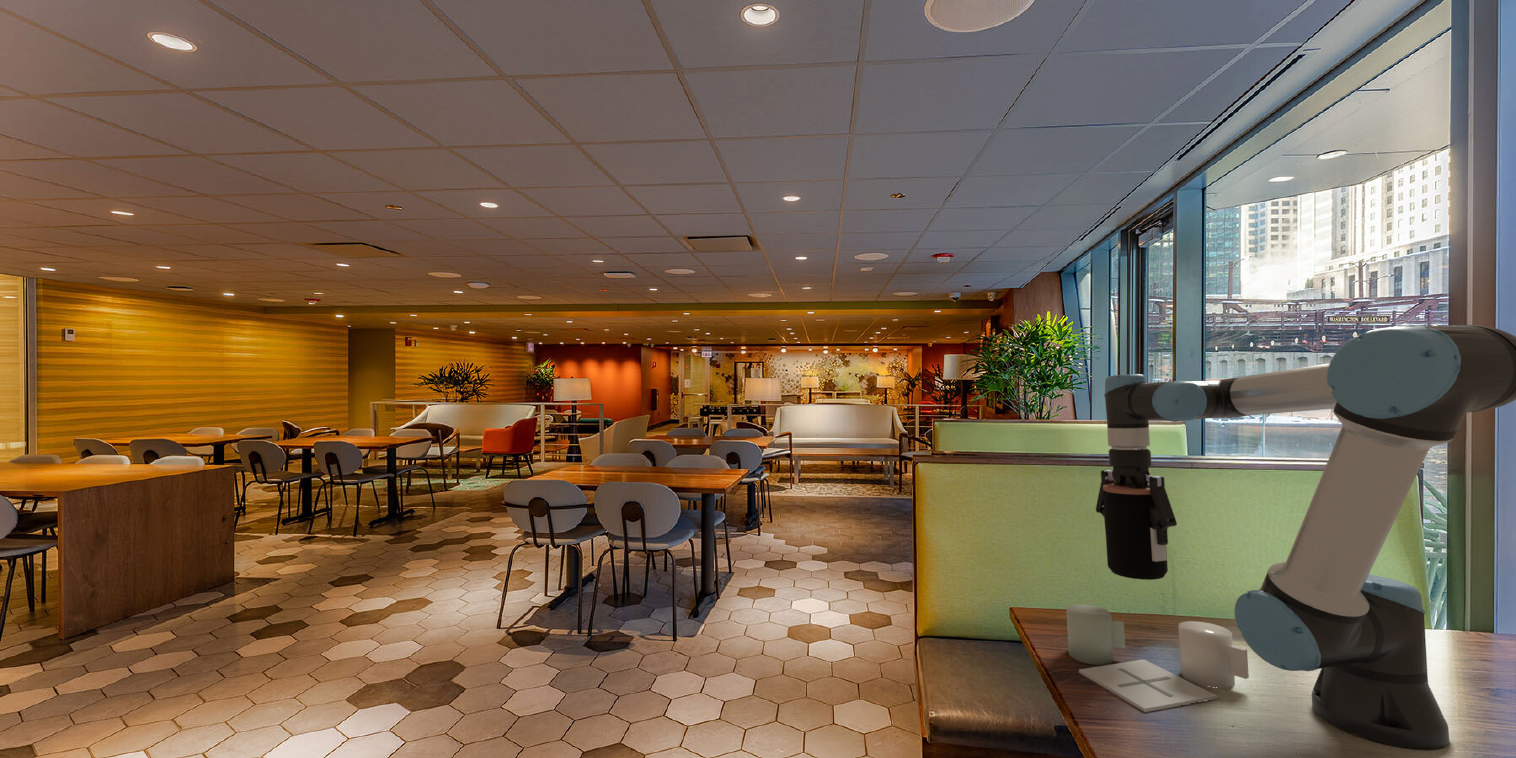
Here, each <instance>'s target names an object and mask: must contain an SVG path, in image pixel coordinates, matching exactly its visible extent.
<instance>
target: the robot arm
mask: <svg viewBox="0 0 1516 758" xmlns="http://www.w3.org/2000/svg"><path fill="white" fill-rule="evenodd" d="M1103 397H1104V400H1105V415H1106V425H1107V428H1106V429H1107V446H1109V447H1111V448H1109V449H1108V462H1109V463H1108V464H1109V466H1111V467H1112V469H1107V470H1105V469H1104V470H1101V471H1100V478H1101V482H1100V487H1099V491H1098V495H1097V501H1096V505H1095V512H1096V513H1100V514H1101V515H1102V516H1103V518H1104V522H1105V515H1104V499H1103V498H1104V496H1105V494H1106V492H1105V491H1104V490H1103V485H1105V484H1113V483H1114V485H1115V486H1125V487H1131V488H1135V489H1139V488H1150V491H1151V494H1152V497H1153V500H1154V503H1155V506H1156V508H1150V507H1149V514H1150V520H1151V522H1152V524H1153V526H1152V527H1151V528H1150V533H1151V548H1152V561H1155V562H1156V561H1165V560H1167V561H1168V555H1166V551H1167V545H1168V544H1169V538H1168V528H1172V527H1176V526H1177V525H1178V523H1177V520H1176V517H1175V513H1174V512H1173V507H1172V506H1171V505H1172V504H1171V501H1170V499H1169V496H1168V493H1167V490H1166V486H1165V477H1164V476H1163V475H1151V474H1150V471H1149V468H1150V467H1151V466H1152V452H1151V450H1150V449H1149V448H1147V447H1149V446H1151V443H1150V442H1151V441H1150V423H1149V421H1170V422H1173V423H1174V422H1175V423H1176V422H1188V421H1194V420H1202V419H1203V420H1205V419H1226V418H1227V419H1231V418H1232V419H1233V418H1234V419H1237V418H1243V417H1248V416H1260V415H1261V416H1262V415H1272V414H1283V413H1285V414H1286V413H1295V412H1310V411H1320V410H1321V411H1322V410H1332V411H1333V414H1334V416H1335V417H1336V418H1337V419H1338V421H1339V422H1340V423H1341V426H1342V427H1341V428H1340V431H1339V433H1338V435H1337V438H1336V440H1335V444H1334V446H1333V447H1332V450H1331V451H1330V452H1331V453H1330V455H1329V457H1328V459H1327V462H1326V465H1325V467H1324V470H1323V472H1322V475H1321V476H1320V479H1319V481H1318V484H1317V486H1316V489H1315V491H1314V494H1313V497H1312V498H1311V501H1310V503H1309V506H1308V508H1307V510H1306V513H1305V515H1304V518H1303V520H1302V522H1301V525H1300V527H1299V530H1298V532H1297V534H1296V537H1295V539H1294V541H1293V543H1292V547H1291V549H1290V552H1289V554H1288V556H1287V558H1286V561H1284V562H1283V561H1282V562H1278V563H1274V564H1271V565H1270V567H1269V568H1268V570H1267V573H1266V575H1265V577H1264V579H1263V582H1262V585H1261V586H1260V588H1259V589H1258V590H1257V589H1253V590H1252V589H1251V590H1247V592H1245V593H1243V594H1241V595H1240V596H1239V597H1238V598H1237V600H1236V601H1235V604H1234V619H1235V624H1236V626H1237V627H1236V628H1238V630H1239V631H1240V634H1241V636H1242V638H1243V640H1244V641H1245V643H1246V644H1247V645H1248V647H1249V648H1250V649H1251V650H1252V651H1253V652H1254V653H1255V654H1256V655H1257V656H1258V657H1259V658H1261V659H1262V660H1263V661H1264V662H1266V663H1268V664H1269V665H1271V666H1273V667H1275V668H1277V669H1281V670H1283V671H1284V670H1285V671H1290V672H1297V671H1298V672H1299V671H1300V672H1301V671H1303V672H1313V671H1316V670H1320V671H1319V674H1318V677H1317V678H1316V681H1315V683H1314V686H1313V689H1312V690H1311V691H1312V692H1311V706H1312V709H1313V712H1315V714H1317V715H1318V716H1319V717H1320V718H1321V719H1322V720H1325V721H1326V722H1327V723H1328V724H1331V725H1333V726H1335V727H1336V728H1338V729H1341V730H1344V731H1346V732H1348V733H1351V734H1352V735H1353V734H1354V735H1356V736H1359V737H1361V738H1363V739H1368V740H1370V741H1375V742H1378V743H1382V744H1385V745H1390V746H1394V747H1400V748H1408V749H1415V750H1437V749H1440V748H1444V747H1446V746H1447V745H1448V744H1449V743H1450V733H1449V731H1450V730H1449V725H1448V723H1447V720H1446V719H1445V717H1444V715H1443V712H1442V711H1441V708H1440V706H1439V703H1438V702H1437V699H1436V697H1435V695H1434V693H1433V691H1432V688H1431V687H1430V685H1429V678H1428V659H1427V658H1428V657H1427V641H1426V627H1425V624H1426V623H1425V615H1426V610H1425V609H1424V606H1423V605H1424V604H1423V600H1422V599H1423V597H1422V594H1421V592H1420V591H1419V590H1418V589H1417V588H1416V587H1414V586H1413V585H1410V584H1408V583H1405V582H1403V581H1400V580H1396V579H1393V578H1388V577H1384V576H1380V575H1376V574H1370V572H1371V570H1372V569H1373V566H1374V564H1375V562H1376V560H1377V558H1378V556H1379V554H1380V552H1381V550H1382V548H1383V546H1384V544H1385V541H1386V540H1387V538H1388V535H1389V533H1390V531H1391V529H1392V528H1393V525H1394V524H1395V521H1396V519H1397V516H1398V515H1399V513H1400V511H1401V508H1402V506H1403V504H1404V502H1405V500H1406V498H1407V496H1408V494H1409V492H1410V490H1411V488H1412V486H1413V484H1414V482H1415V479H1416V477H1417V475H1418V473H1419V471H1420V469H1421V468H1422V465H1423V463H1424V461H1425V459H1426V457H1427V454H1429V453H1428V452H1429V450H1430V449H1431V448H1432V447H1437V446H1440V445H1443V444H1447V443H1450V442H1452V441H1453V440H1454V438H1455V436H1456V433H1457V432H1458V430H1459V428H1460V427H1461V423H1462V422H1463V420H1464V418H1465V416H1466V413H1476V412H1484V411H1489V410H1494V409H1496V408H1501V407H1504V406H1506V405H1508V404H1510V403H1512V402H1514V401H1516V336H1515V335H1514V334H1511V333H1510V332H1507V331H1505V330H1502V329H1500V328H1495V327H1491V326H1487V325H1477V324H1460V325H1459V324H1457V325H1415V324H1403V325H1402V324H1401V325H1394V326H1389V327H1383V328H1376V329H1372V330H1368V331H1366V332H1363V333H1361V334H1359V335H1357V336H1355V337H1353V338H1350V339H1349V340H1348V341H1346V342H1345V343H1344V344H1342V346H1341V347H1340V348H1339V349H1337V351H1336V352H1335V354H1334V355H1333V357H1332V358H1331V360H1330V362H1329V363H1325V364H1316V365H1311V366H1304V367H1298V368H1290V369H1284V370H1277V371H1272V372H1271V371H1270V372H1264V373H1258V374H1251V375H1245V376H1239V377H1231V378H1223V379H1213V380H1187V381H1186V380H1169V381H1161V382H1149V383H1148V382H1147V379H1146V376H1145V375H1144V374H1143V373H1142V374H1141V373H1140V374H1139V373H1136V374H1135V373H1133V374H1120V375H1119V374H1118V375H1117V374H1115V375H1109V376H1107V377H1106V378H1105V380H1104V396H1103ZM1158 520H1159V521H1160V522H1159V521H1158Z"/></svg>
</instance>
